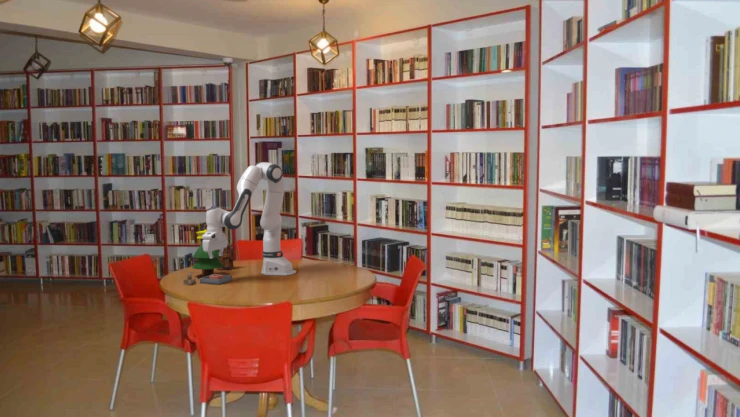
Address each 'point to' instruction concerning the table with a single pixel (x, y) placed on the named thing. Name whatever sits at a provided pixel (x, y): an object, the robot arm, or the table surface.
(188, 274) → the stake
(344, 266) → the table surface
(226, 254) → the wooden figurine
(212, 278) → the ring
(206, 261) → the decorative tree
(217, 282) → the tray
